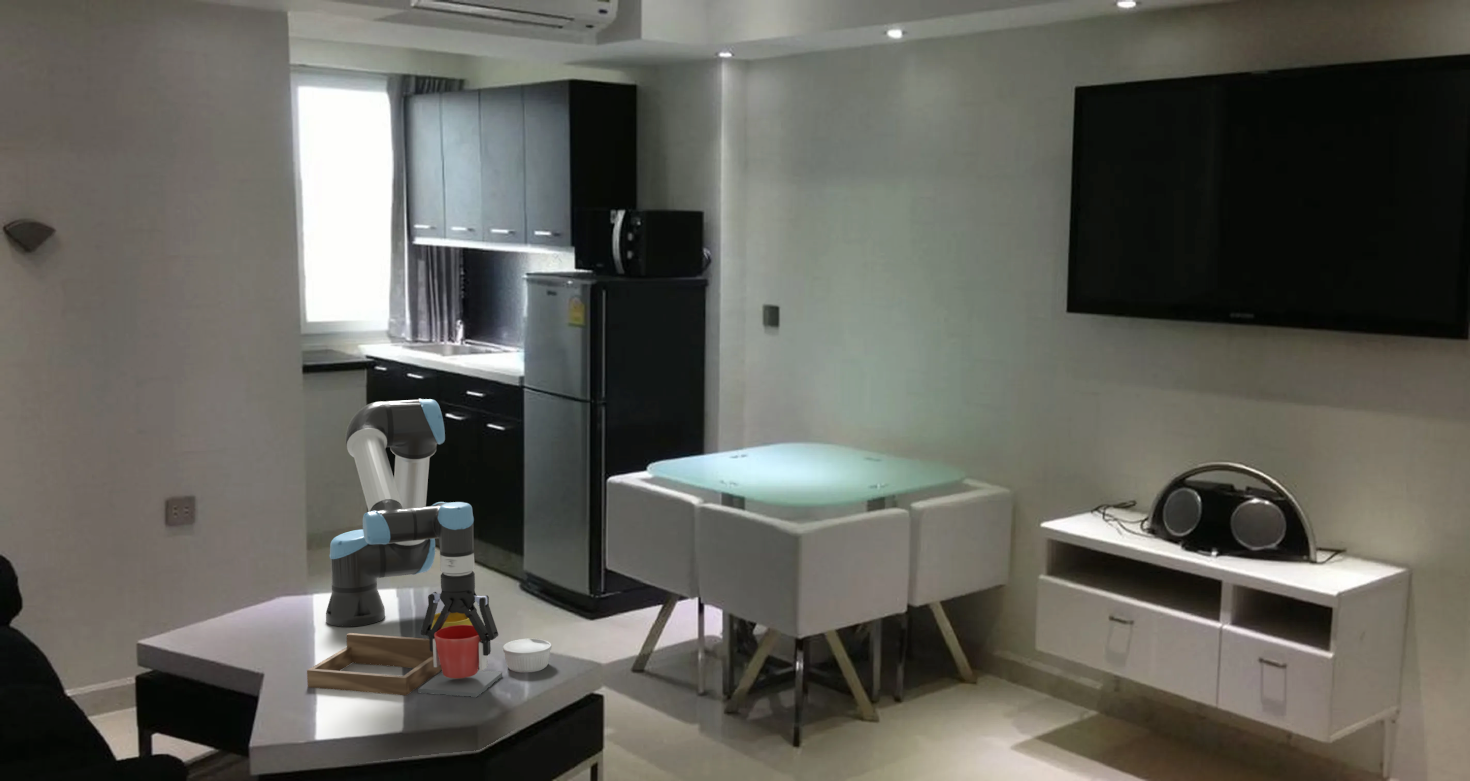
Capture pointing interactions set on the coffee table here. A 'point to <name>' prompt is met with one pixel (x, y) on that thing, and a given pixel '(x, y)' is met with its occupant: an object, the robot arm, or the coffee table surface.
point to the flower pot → (458, 650)
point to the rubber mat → (461, 684)
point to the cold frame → (376, 653)
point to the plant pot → (453, 620)
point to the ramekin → (527, 654)
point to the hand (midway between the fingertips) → (460, 666)
